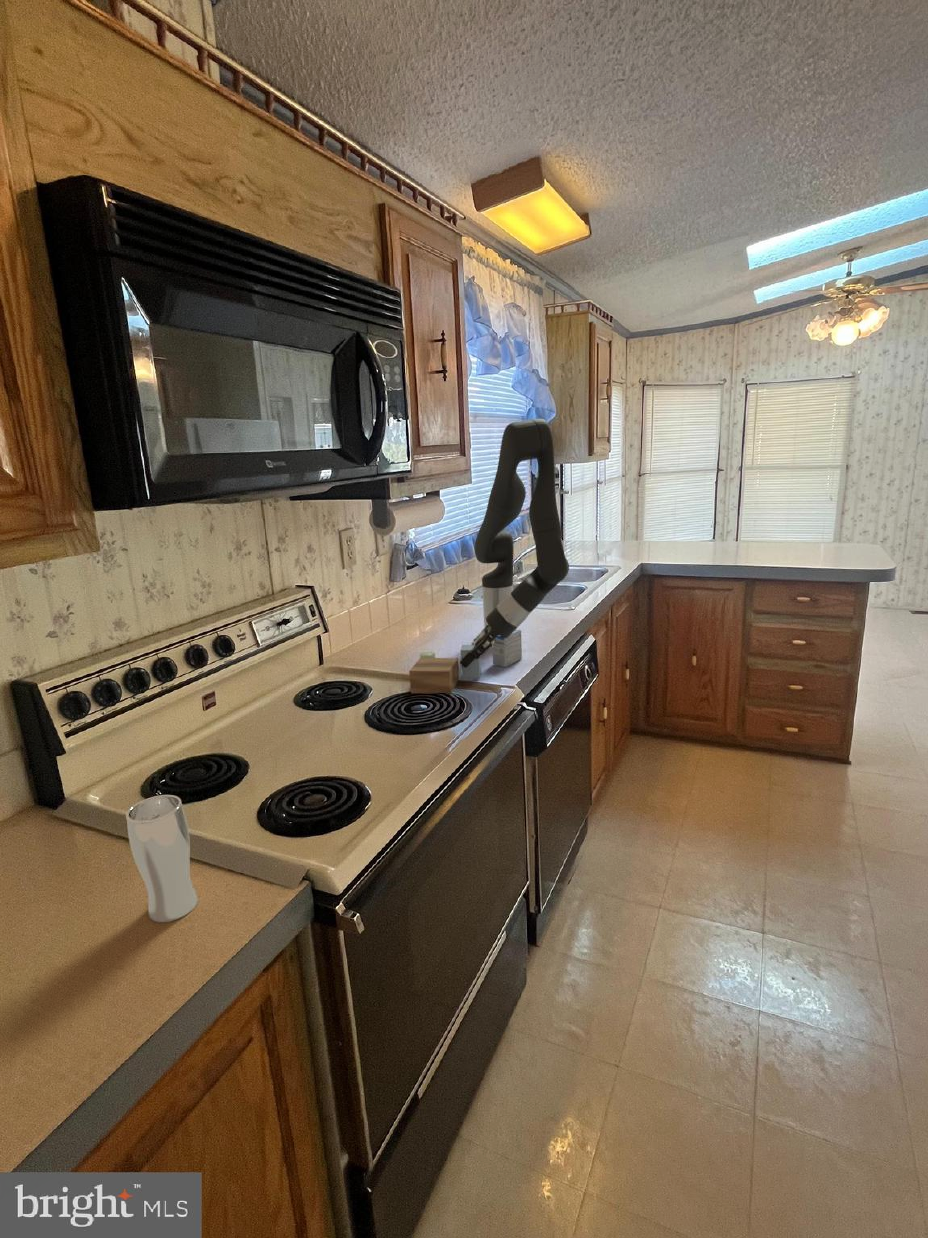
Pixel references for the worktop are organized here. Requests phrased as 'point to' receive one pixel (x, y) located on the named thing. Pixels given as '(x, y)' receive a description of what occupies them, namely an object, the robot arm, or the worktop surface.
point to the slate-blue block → (474, 668)
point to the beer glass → (162, 855)
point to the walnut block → (434, 675)
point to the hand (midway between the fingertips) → (463, 661)
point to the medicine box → (507, 649)
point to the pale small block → (427, 655)
